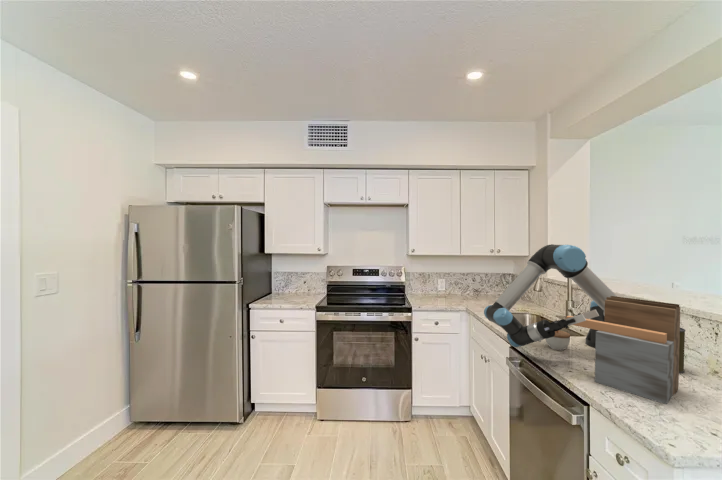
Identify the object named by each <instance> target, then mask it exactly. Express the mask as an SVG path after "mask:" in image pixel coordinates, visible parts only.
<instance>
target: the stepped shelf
mask: <svg viewBox="0 0 722 480" xmlns="http://www.w3.org/2000/svg"><path fill="white" fill-rule="evenodd" d="M604 322H608V323H613V324H618V325H624V326H629V327H635V328H640V329H646V330H651V331H657V332H662V333H667V342H666V343H665V344H664V343H659V342H654V341H649V340H644V339H639V338H634V337H629V336H624V335H619V334H614V333H609V332H604V331H599V330H598V331H596V347H594V348H595V350H594V351H595V353H594V355H595V357H594V358H595V359H594V383H596V384H597V383H598V384H601V385H603V386H606V387H607V386H608V387H610V388H613V389H616V390H619V391H623V392H626V393H630V394H633V395H635V396H639V397H641V398H646V399H649V400H652V401H654V402H658V403H661V404H665V405H667V404H668V403H669V402H670V401H671V399H672V398H673V397H674V395H675V394H676V393H677V392H678V391H679V385H680V383H679V378H680V377H679V376H680V375H679V374H680V373H679V344H680V328H681V306H680V304H678V303H671V302H662V301H655V300H648V299H640V298H639V299H638V298H631V297H624V296H623V297H622V296H618V295H616V296H610V297H607V298H606V300H605V319H604Z"/></svg>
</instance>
